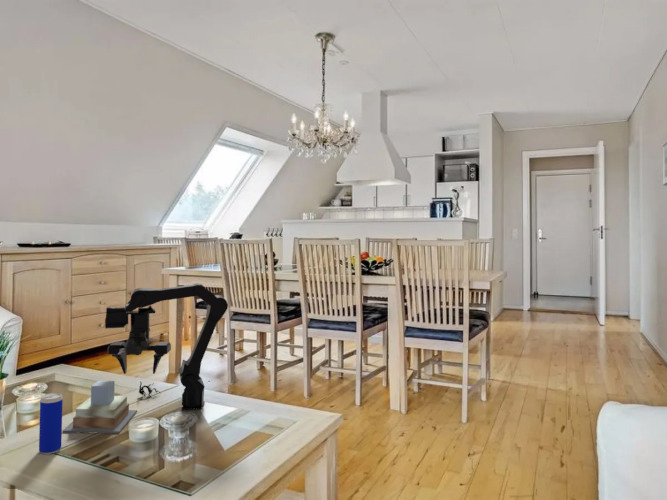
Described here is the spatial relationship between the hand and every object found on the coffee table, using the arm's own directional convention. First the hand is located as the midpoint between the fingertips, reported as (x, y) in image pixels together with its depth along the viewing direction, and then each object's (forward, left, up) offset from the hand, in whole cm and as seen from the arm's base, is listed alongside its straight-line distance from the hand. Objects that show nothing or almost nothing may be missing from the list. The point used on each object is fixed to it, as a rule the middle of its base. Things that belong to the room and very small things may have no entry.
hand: (139, 373), depth 155 cm
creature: (+1, -14, -13) cm, 19 cm away
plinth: (+8, +9, -13) cm, 17 cm away
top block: (+8, +9, -7) cm, 14 cm away
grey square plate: (+8, +9, -13) cm, 17 cm away
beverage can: (+14, +28, -13) cm, 34 cm away
